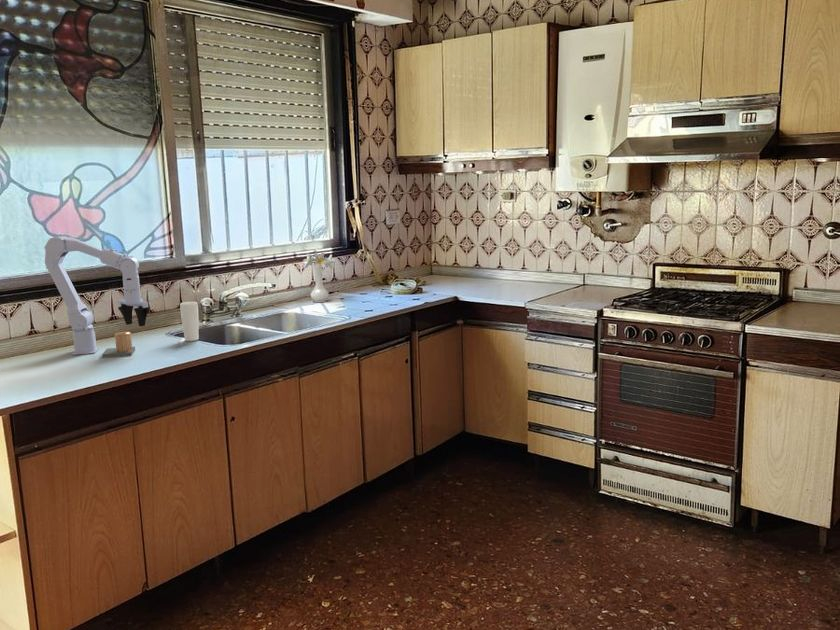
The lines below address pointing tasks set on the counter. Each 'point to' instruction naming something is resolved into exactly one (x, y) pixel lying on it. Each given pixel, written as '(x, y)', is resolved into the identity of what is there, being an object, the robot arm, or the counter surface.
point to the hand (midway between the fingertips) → (135, 325)
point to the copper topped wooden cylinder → (123, 341)
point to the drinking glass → (190, 320)
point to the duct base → (113, 353)
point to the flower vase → (319, 275)
